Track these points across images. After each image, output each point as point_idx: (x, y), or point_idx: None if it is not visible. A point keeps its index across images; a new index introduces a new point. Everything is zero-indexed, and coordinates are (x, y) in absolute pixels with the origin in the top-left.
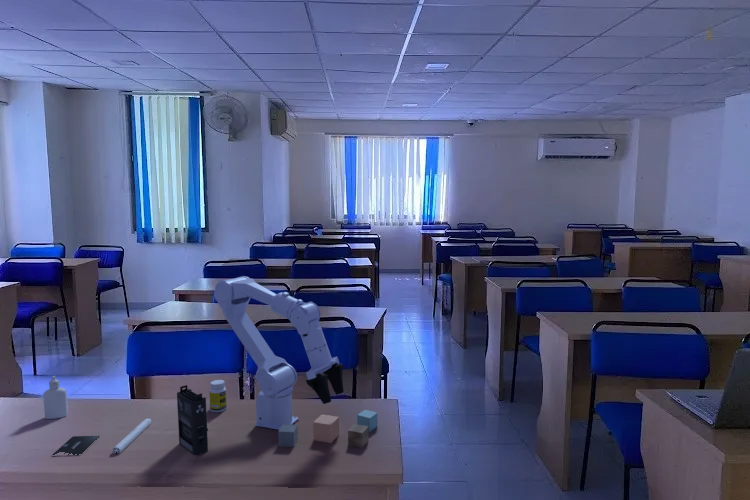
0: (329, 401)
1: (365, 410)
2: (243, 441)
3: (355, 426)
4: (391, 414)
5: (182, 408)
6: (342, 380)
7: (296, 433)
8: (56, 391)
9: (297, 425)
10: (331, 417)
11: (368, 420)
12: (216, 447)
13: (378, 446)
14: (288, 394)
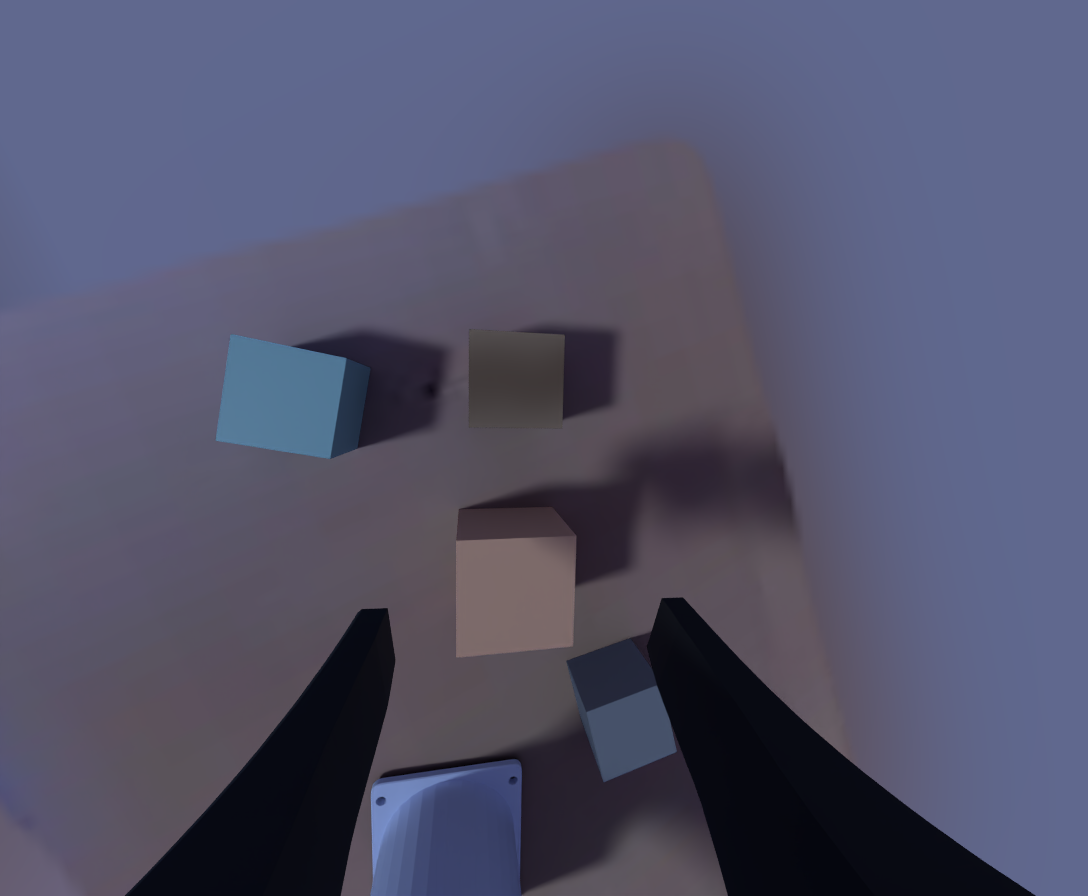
0: (688, 605)
1: (230, 431)
2: (649, 839)
3: (499, 405)
4: (55, 309)
5: None
6: (277, 731)
7: (600, 679)
8: None
9: (588, 709)
10: (480, 580)
11: (349, 371)
12: (715, 886)
13: (509, 275)
14: None
